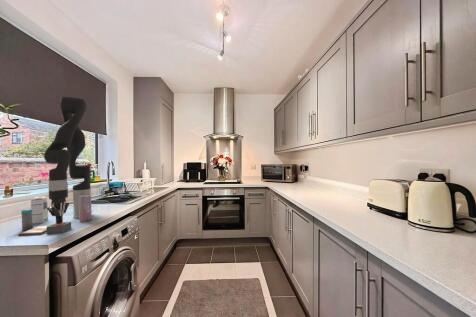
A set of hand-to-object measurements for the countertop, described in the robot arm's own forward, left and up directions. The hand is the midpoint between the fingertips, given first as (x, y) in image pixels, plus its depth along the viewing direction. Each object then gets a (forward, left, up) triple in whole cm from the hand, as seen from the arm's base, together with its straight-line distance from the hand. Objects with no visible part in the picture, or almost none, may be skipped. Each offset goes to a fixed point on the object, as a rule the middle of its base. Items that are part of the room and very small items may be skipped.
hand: (59, 223), depth 111 cm
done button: (0, 0, -2) cm, 2 cm away
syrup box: (-22, -24, -4) cm, 33 cm away
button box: (0, 0, -4) cm, 4 cm away
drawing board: (-2, -11, -4) cm, 11 cm away
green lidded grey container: (-6, -19, -4) cm, 20 cm away
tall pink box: (-18, +3, -4) cm, 19 cm away
